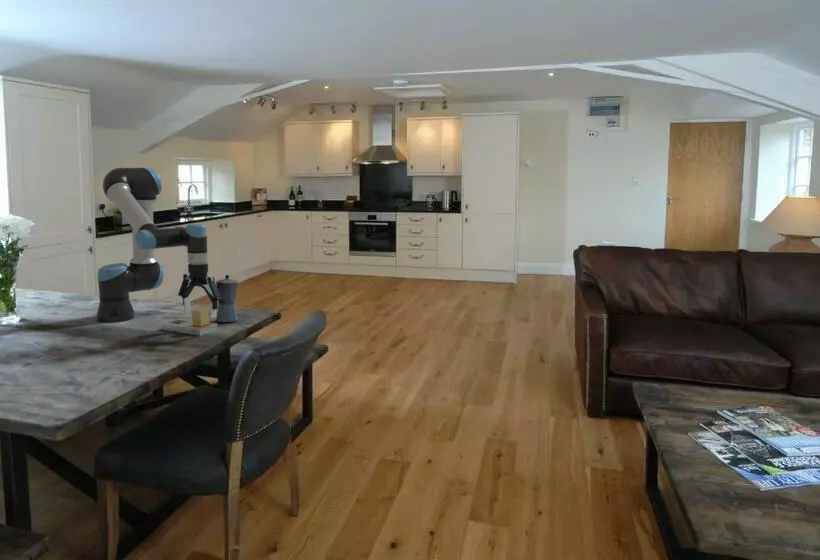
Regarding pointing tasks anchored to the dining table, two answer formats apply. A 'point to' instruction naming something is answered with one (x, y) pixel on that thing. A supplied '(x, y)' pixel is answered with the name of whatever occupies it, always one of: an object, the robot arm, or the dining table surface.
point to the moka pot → (227, 300)
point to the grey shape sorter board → (188, 327)
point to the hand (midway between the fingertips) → (200, 315)
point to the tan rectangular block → (200, 317)
